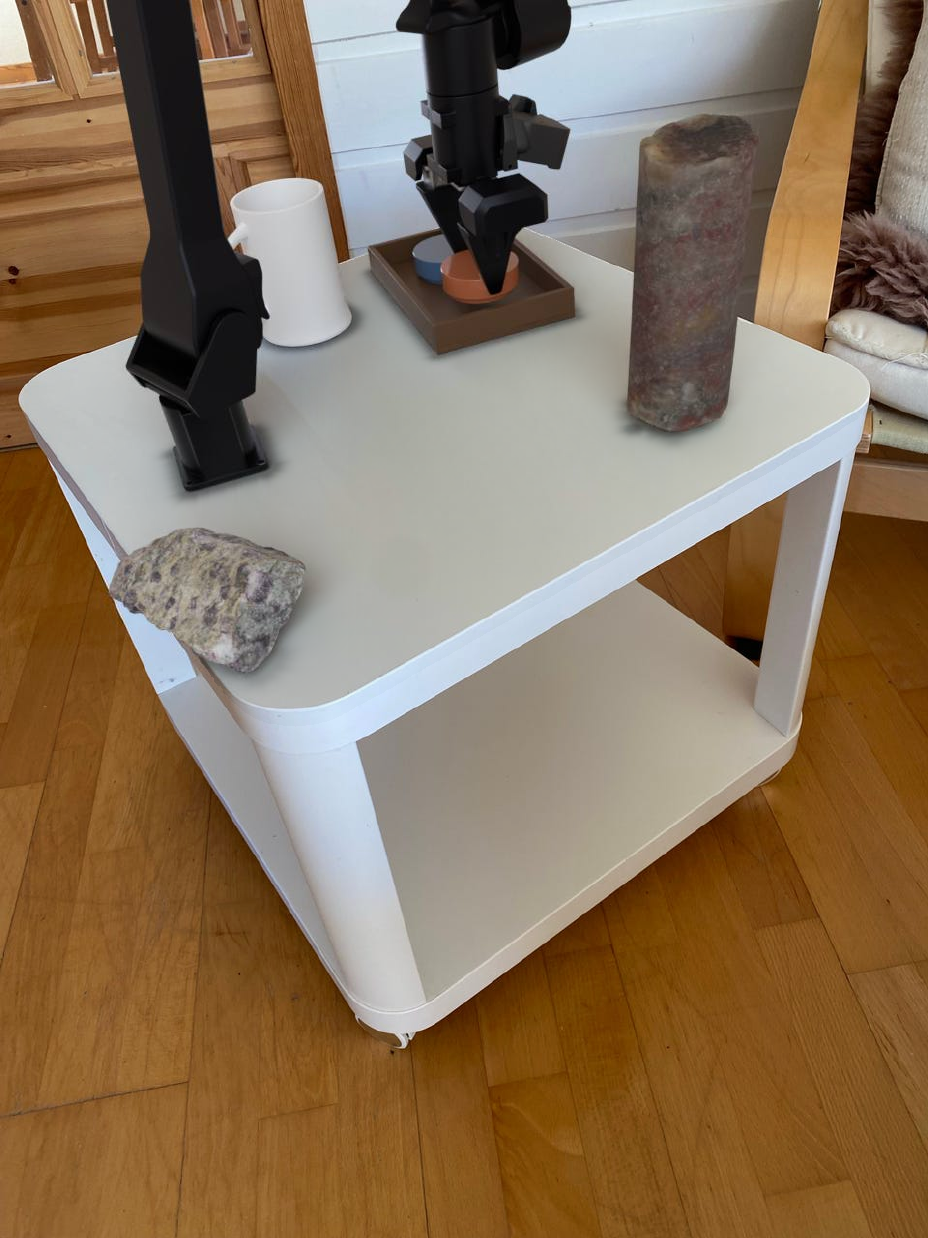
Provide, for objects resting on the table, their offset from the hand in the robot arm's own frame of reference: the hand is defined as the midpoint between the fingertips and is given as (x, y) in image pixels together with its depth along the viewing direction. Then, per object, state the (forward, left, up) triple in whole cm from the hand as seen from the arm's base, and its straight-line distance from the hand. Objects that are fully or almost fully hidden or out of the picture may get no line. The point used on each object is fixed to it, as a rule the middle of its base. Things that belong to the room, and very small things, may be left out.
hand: (480, 278), depth 85 cm
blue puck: (+9, 0, -3) cm, 9 cm away
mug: (+6, +17, -3) cm, 18 cm away
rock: (-34, +34, -2) cm, 49 cm away
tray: (+4, 0, -3) cm, 5 cm away
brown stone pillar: (-25, -6, -3) cm, 26 cm away
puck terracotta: (0, 0, -1) cm, 1 cm away
